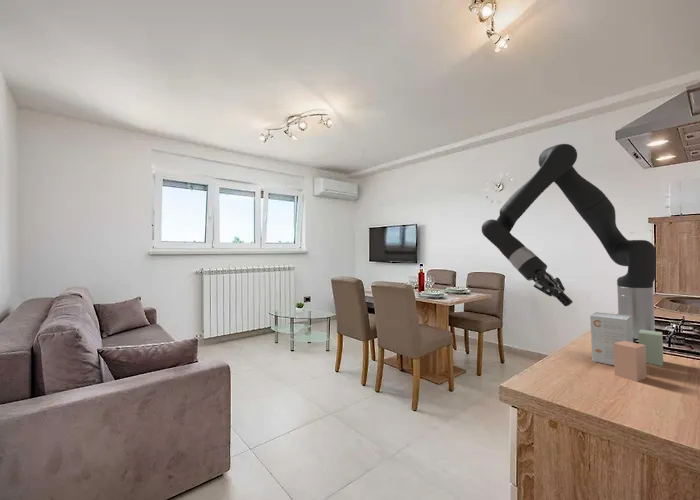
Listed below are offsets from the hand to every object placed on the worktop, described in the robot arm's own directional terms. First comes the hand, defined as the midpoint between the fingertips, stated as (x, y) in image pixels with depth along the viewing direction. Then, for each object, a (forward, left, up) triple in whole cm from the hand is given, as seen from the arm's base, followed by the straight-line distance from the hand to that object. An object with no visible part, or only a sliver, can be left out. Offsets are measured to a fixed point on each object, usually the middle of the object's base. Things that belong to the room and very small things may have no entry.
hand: (569, 304), depth 95 cm
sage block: (-8, +16, -15) cm, 23 cm away
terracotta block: (+8, +16, -15) cm, 23 cm away
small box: (0, +10, -15) cm, 18 cm away
